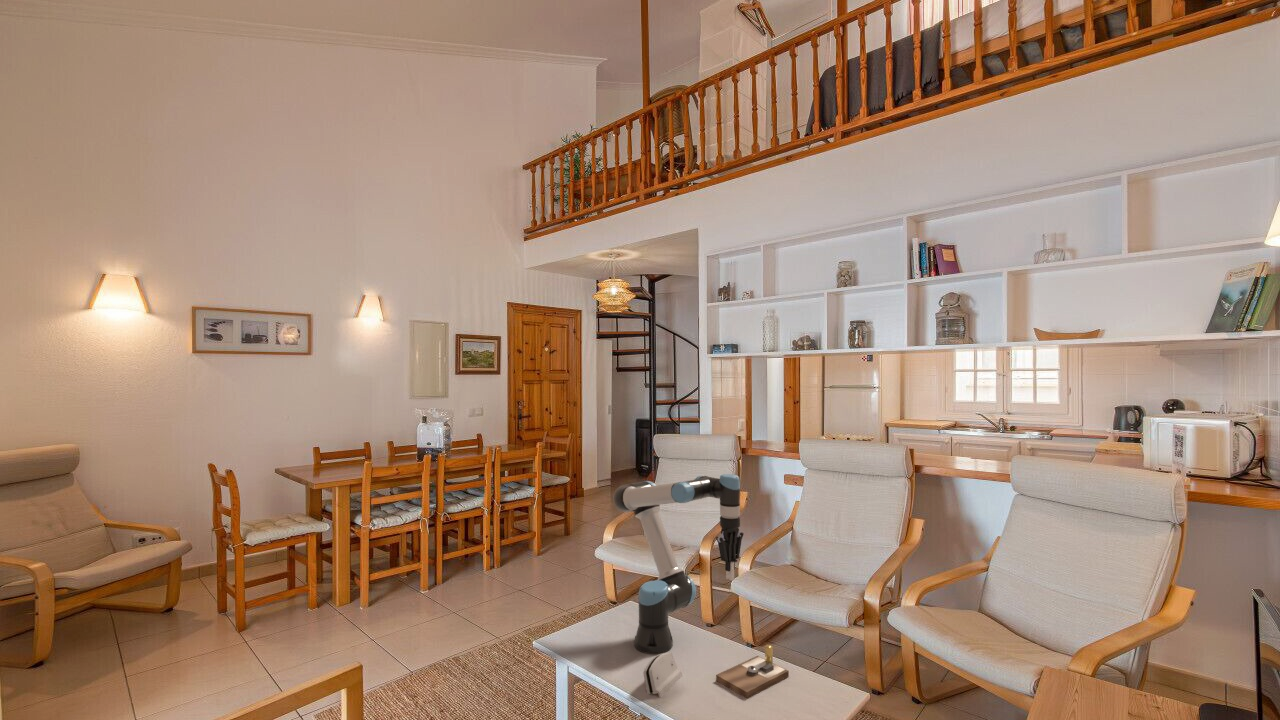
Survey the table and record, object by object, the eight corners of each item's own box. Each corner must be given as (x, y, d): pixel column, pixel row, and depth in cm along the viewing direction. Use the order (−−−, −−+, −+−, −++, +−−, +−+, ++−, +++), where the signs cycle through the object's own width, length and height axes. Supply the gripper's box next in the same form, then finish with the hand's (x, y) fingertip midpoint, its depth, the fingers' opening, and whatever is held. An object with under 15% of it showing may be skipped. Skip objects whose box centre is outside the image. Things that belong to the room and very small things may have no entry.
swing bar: (753, 675, 200) (753, 657, 200) (746, 671, 202) (745, 653, 202) (774, 664, 207) (774, 646, 207) (767, 660, 210) (767, 643, 210)
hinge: (660, 698, 190) (651, 666, 192) (648, 699, 192) (639, 668, 194) (683, 675, 204) (674, 646, 206) (672, 676, 206) (663, 647, 208)
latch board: (716, 680, 200) (716, 670, 201) (757, 661, 214) (757, 651, 214) (747, 698, 189) (746, 687, 190) (788, 676, 203) (788, 666, 203)
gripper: (734, 511, 225) (734, 572, 224) (710, 516, 217) (710, 580, 216) (749, 515, 219) (749, 578, 219) (725, 520, 211) (725, 585, 210)
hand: (730, 578), depth 217 cm, fingers closed
